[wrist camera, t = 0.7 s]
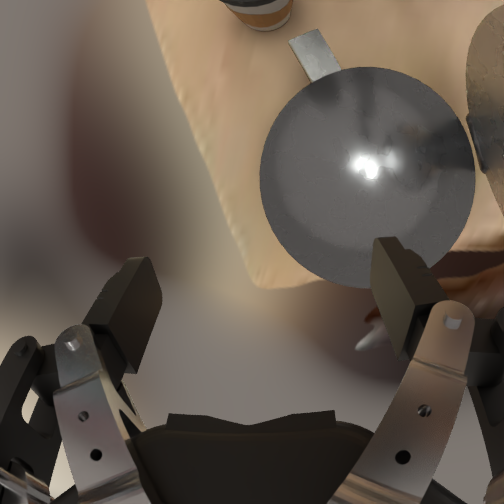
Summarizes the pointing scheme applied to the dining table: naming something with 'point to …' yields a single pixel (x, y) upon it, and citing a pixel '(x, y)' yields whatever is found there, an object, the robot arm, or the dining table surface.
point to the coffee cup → (261, 12)
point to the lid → (488, 99)
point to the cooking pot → (363, 167)
